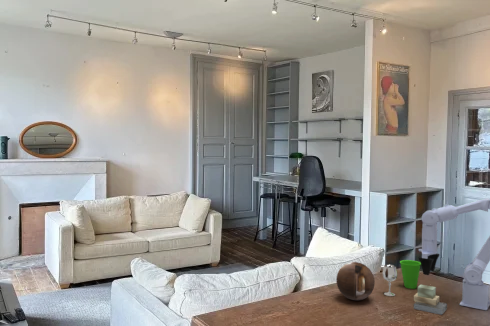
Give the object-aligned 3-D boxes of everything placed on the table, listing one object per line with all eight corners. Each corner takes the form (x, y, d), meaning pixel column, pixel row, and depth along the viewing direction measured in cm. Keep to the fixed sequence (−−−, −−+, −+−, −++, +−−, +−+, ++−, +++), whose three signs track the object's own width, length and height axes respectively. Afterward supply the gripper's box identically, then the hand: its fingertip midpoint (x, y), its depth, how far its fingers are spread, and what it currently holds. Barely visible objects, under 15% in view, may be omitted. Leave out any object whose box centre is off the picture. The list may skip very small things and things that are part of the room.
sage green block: (439, 301, 166) (439, 287, 166) (435, 305, 162) (435, 291, 161) (417, 297, 171) (418, 283, 171) (413, 301, 166) (413, 287, 166)
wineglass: (387, 297, 177) (388, 268, 176) (379, 292, 182) (380, 264, 182) (399, 296, 178) (400, 267, 178) (391, 291, 184) (391, 264, 183)
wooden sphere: (338, 291, 183) (339, 256, 183) (375, 295, 178) (375, 260, 178) (333, 303, 169) (334, 265, 169) (373, 307, 164) (374, 269, 164)
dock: (446, 308, 164) (447, 303, 164) (441, 314, 158) (442, 309, 157) (419, 303, 170) (419, 298, 170) (413, 308, 164) (413, 303, 164)
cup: (423, 290, 185) (423, 265, 185) (402, 289, 187) (401, 264, 186) (418, 284, 194) (418, 260, 194) (397, 283, 196) (397, 259, 195)
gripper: (424, 236, 184) (423, 267, 184) (414, 241, 173) (413, 274, 173) (441, 238, 180) (440, 270, 180) (432, 243, 168) (432, 277, 169)
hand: (428, 272), depth 176 cm, fingers open, 7 cm apart
